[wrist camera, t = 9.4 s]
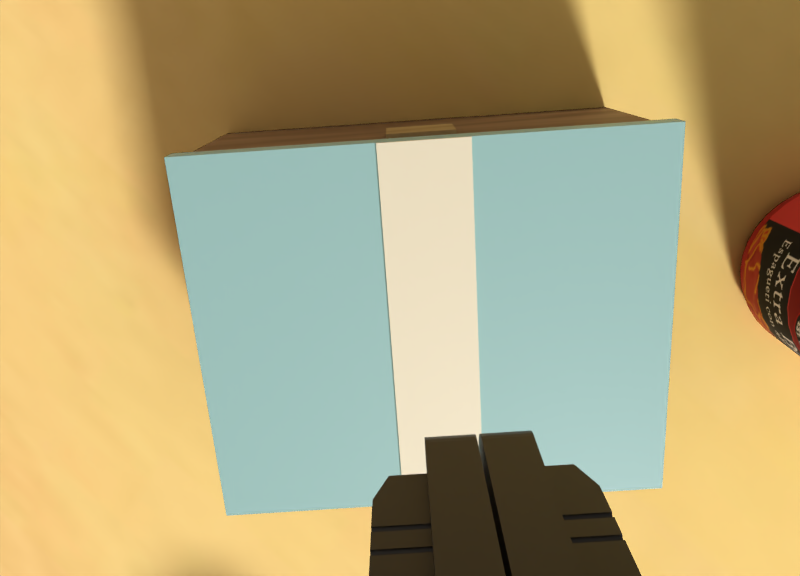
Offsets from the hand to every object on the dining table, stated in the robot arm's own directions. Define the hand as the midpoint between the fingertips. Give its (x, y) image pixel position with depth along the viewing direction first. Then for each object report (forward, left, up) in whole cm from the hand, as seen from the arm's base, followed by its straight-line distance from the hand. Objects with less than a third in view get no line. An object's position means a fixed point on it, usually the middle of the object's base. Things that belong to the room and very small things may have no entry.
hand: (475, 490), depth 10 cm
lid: (+4, 0, -15) cm, 15 cm away
